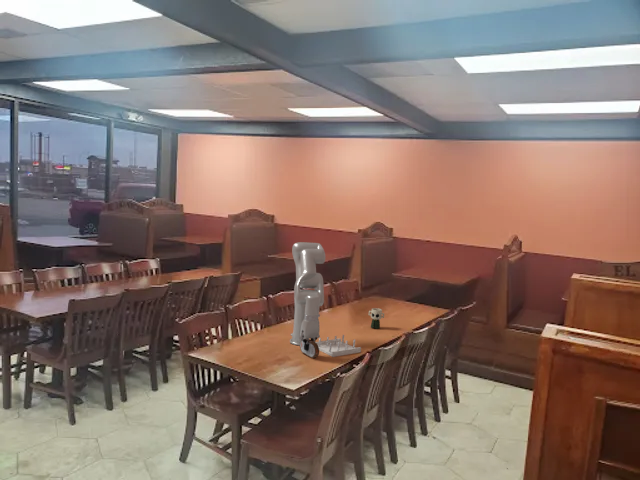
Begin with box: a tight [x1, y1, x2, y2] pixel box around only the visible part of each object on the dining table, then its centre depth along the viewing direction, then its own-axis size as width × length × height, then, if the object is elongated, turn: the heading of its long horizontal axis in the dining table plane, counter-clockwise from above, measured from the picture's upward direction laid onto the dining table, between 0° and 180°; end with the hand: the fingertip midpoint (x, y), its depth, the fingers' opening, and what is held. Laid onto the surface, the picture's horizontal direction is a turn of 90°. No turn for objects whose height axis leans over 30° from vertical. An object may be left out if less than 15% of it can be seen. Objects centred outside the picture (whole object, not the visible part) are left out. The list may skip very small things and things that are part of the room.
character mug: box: [368, 307, 385, 330], centre depth 350 cm, size 11×7×13 cm, turn 68°
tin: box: [299, 338, 320, 359], centre depth 281 cm, size 15×3×8 cm, turn 37°
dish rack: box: [315, 334, 362, 358], centre depth 296 cm, size 19×20×6 cm
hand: (308, 349), depth 282 cm, fingers open, 2 cm apart
